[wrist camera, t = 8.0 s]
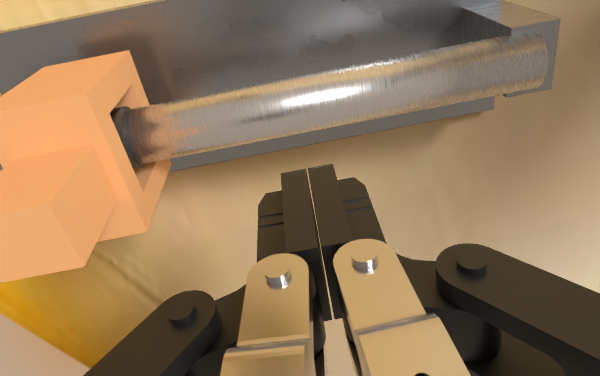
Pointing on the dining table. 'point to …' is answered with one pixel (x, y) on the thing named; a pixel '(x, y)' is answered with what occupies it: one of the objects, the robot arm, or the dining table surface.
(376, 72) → the pipe stand
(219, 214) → the dining table surface
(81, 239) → the collar
